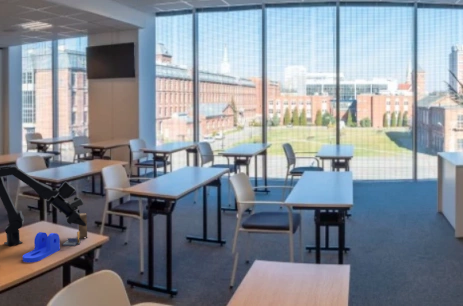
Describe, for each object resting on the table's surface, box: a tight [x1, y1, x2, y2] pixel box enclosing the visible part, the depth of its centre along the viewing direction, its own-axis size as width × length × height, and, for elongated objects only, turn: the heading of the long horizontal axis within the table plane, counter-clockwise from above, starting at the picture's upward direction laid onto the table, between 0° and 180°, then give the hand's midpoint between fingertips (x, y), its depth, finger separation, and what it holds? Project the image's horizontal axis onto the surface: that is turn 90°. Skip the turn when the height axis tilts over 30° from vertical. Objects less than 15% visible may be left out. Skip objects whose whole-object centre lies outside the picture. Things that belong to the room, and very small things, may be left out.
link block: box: [78, 212, 88, 239], centre depth 232 cm, size 4×4×12 cm
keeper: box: [62, 231, 82, 247], centre depth 221 cm, size 7×6×6 cm
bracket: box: [22, 231, 61, 263], centre depth 204 cm, size 18×8×9 cm, turn 167°
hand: (85, 224), depth 232 cm, fingers open, 4 cm apart
